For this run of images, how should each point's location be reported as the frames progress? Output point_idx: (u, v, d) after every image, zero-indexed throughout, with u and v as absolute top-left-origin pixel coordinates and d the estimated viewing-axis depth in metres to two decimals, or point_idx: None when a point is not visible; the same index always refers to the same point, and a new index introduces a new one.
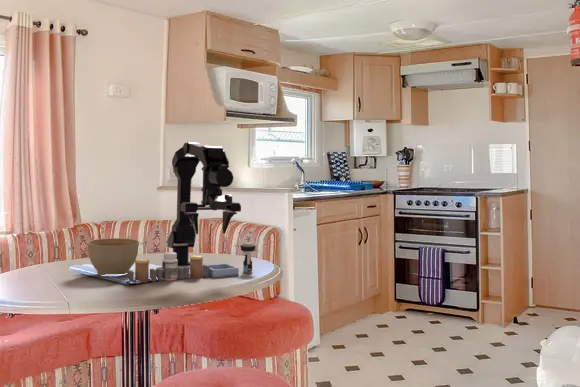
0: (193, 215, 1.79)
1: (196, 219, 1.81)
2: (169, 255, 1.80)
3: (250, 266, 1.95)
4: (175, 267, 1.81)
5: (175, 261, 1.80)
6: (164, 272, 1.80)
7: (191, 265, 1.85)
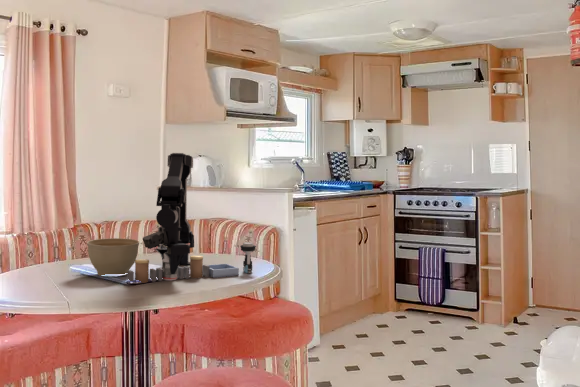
0: (157, 251, 1.84)
1: (162, 256, 1.84)
2: None
3: (250, 266, 1.95)
4: None
5: None
6: (164, 272, 1.80)
7: (191, 265, 1.85)
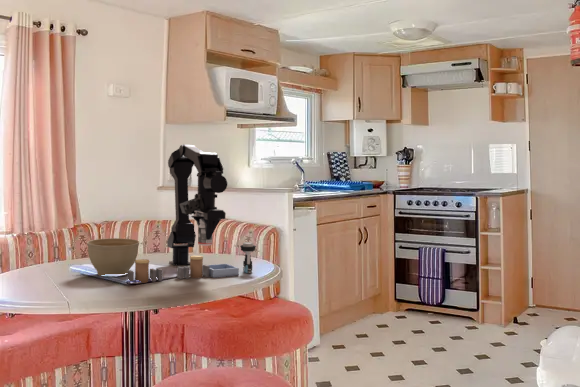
0: None
1: (197, 222, 1.90)
2: None
3: (250, 266, 1.95)
4: None
5: None
6: (200, 237, 1.87)
7: (191, 265, 1.85)
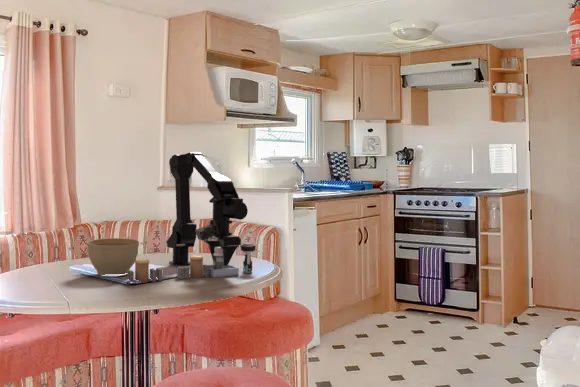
0: None
1: (210, 247, 1.95)
2: (220, 249, 1.90)
3: (250, 266, 1.95)
4: None
5: None
6: (215, 265, 1.90)
7: (191, 265, 1.85)
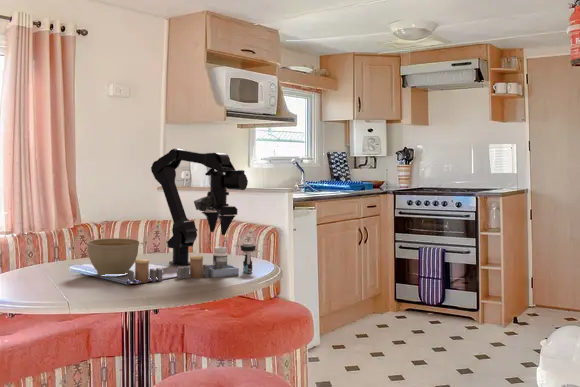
0: None
1: (207, 218, 2.04)
2: (220, 249, 1.90)
3: (250, 266, 1.95)
4: (225, 261, 1.91)
5: (225, 255, 1.91)
6: (215, 265, 1.90)
7: (191, 265, 1.85)
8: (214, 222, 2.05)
